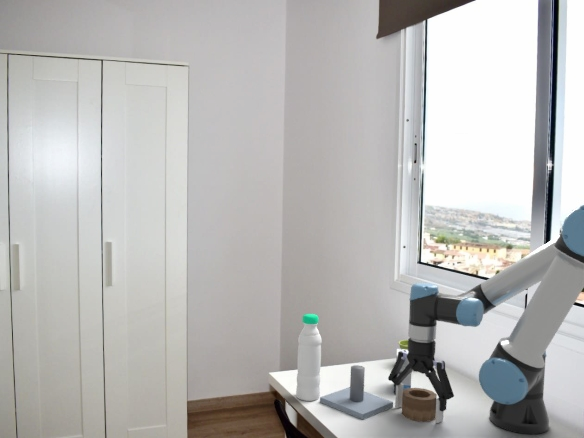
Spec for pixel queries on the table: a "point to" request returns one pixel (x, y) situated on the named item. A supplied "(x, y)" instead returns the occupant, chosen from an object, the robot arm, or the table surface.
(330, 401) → the stand
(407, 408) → the collar
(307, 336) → the water bottle
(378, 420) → the table surface
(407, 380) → the ink box
